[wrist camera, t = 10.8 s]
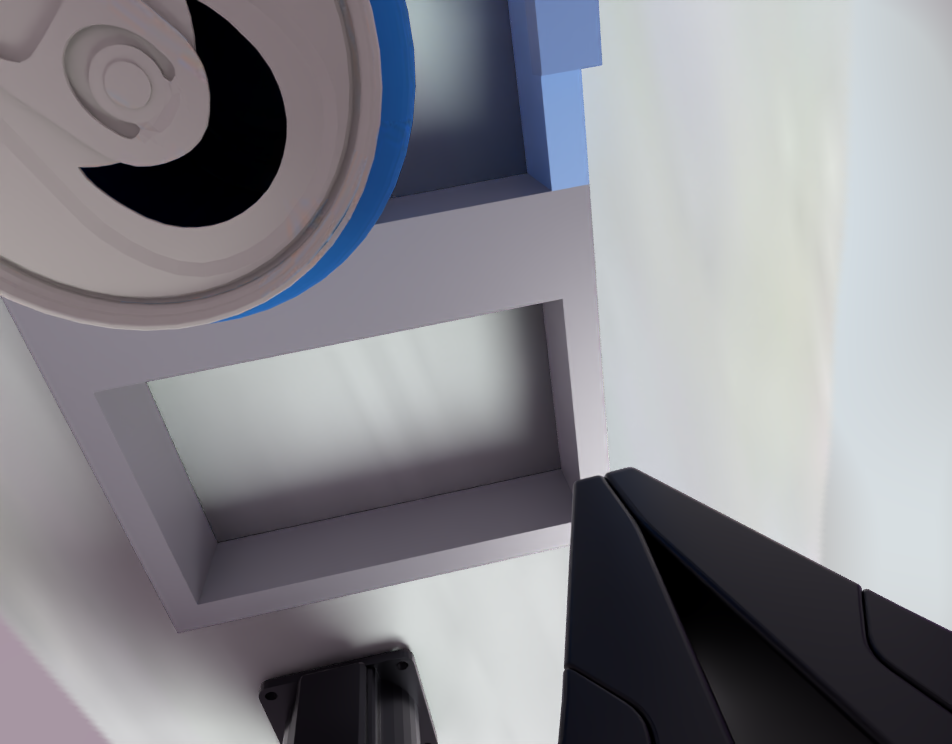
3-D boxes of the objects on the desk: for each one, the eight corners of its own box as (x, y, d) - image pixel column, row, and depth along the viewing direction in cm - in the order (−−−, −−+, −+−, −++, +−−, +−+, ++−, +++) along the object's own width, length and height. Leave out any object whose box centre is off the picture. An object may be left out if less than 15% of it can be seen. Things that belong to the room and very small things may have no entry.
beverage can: (303, 233, 19) (214, 453, 8) (91, 78, 17) (-415, 112, 6) (440, 51, 18) (546, 37, 7) (229, -151, 15) (-125, -668, 4)
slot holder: (593, 483, 25) (630, 554, 21) (194, 570, 24) (162, 659, 20) (532, -221, 15) (580, -307, 12) (-136, -121, 14) (-305, -182, 11)
